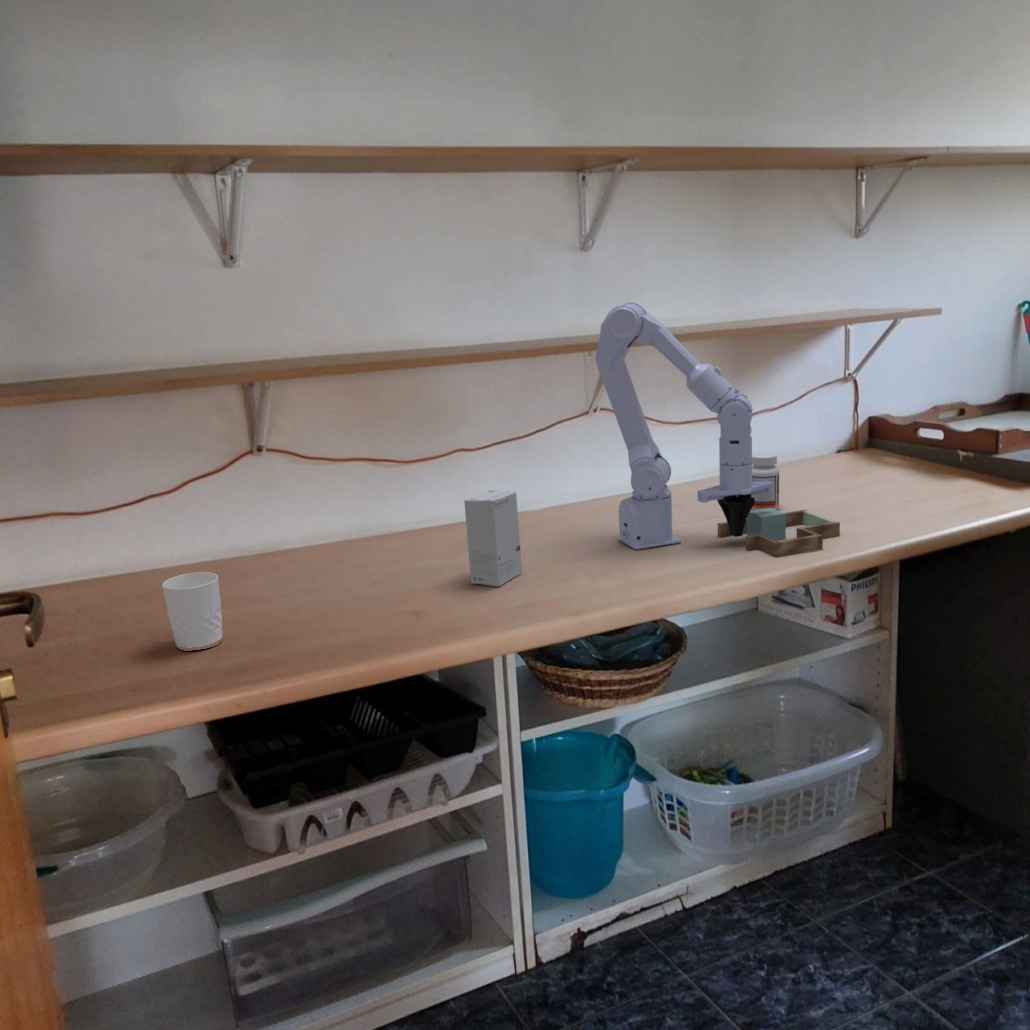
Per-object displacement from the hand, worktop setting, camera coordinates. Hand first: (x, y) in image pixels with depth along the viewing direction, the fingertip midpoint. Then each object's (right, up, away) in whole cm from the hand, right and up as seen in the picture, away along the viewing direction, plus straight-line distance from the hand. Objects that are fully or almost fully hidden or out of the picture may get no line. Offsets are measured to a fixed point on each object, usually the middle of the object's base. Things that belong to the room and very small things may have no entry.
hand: (736, 535), depth 178 cm
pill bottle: (+11, +5, +23) cm, 25 cm away
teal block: (+6, -1, +2) cm, 6 cm away
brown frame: (+9, -1, 0) cm, 9 cm away
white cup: (-88, -16, -33) cm, 95 cm away
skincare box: (-44, -7, -11) cm, 46 cm away
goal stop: (+17, +1, +5) cm, 18 cm away
